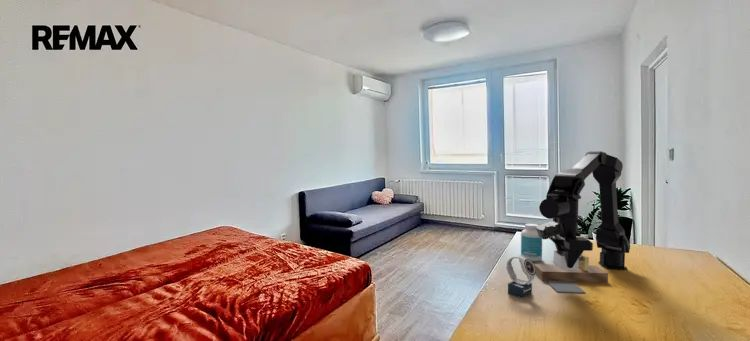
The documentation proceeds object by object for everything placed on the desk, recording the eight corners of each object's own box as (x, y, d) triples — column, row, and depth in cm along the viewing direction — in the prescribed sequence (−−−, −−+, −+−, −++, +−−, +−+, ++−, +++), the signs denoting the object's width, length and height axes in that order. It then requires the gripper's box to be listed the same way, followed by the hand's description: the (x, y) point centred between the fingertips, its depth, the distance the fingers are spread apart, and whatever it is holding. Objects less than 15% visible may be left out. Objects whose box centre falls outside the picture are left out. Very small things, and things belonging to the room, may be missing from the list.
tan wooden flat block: (580, 265, 113) (581, 252, 112) (588, 271, 108) (588, 257, 107) (574, 265, 113) (574, 252, 113) (581, 270, 108) (582, 256, 108)
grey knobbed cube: (570, 263, 105) (570, 249, 105) (578, 269, 100) (578, 254, 100) (553, 263, 105) (553, 249, 105) (560, 269, 100) (561, 254, 100)
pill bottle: (545, 262, 126) (546, 226, 125) (525, 262, 126) (526, 227, 125) (536, 256, 133) (537, 222, 132) (517, 256, 133) (518, 222, 132)
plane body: (595, 274, 113) (596, 265, 113) (607, 282, 106) (608, 273, 106) (534, 272, 115) (534, 264, 115) (541, 280, 108) (542, 271, 108)
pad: (572, 282, 107) (572, 281, 106) (585, 293, 99) (585, 292, 99) (546, 281, 107) (546, 280, 107) (557, 292, 99) (557, 291, 99)
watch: (528, 300, 94) (529, 262, 94) (502, 291, 101) (503, 255, 100) (538, 295, 98) (539, 258, 97) (512, 286, 104) (513, 251, 103)
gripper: (528, 208, 112) (527, 254, 113) (552, 220, 93) (550, 275, 94) (563, 209, 110) (562, 255, 112) (594, 221, 92) (593, 276, 93)
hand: (565, 264), depth 103 cm, fingers closed on grey knobbed cube, 5 cm apart
